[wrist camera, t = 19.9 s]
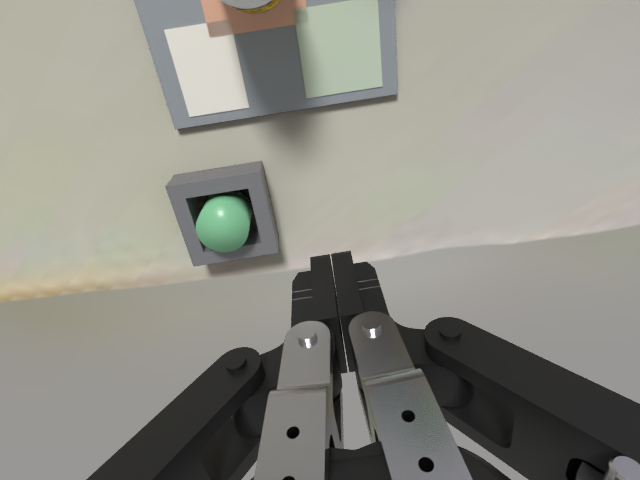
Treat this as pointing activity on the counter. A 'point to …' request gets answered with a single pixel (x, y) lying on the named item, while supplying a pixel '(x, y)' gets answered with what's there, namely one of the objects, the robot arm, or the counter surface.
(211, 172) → the button housing
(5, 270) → the counter surface
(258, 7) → the supplement bottle
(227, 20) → the sheet board
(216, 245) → the button
